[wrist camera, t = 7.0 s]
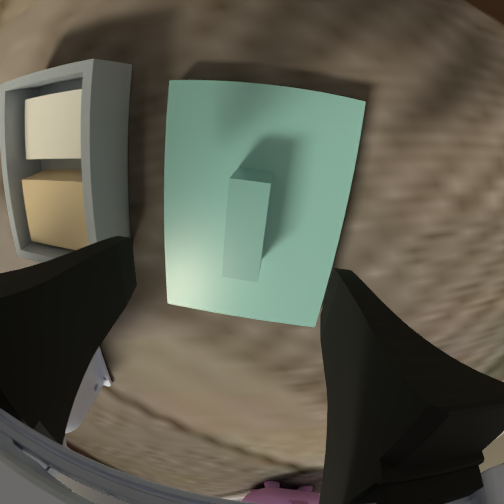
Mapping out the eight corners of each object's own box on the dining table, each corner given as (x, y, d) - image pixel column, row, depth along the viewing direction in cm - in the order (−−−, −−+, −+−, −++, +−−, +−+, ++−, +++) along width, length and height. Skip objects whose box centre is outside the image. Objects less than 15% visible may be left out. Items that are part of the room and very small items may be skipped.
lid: (313, 313, 20) (316, 353, 17) (174, 291, 21) (154, 326, 17) (359, 102, 14) (379, 100, 10) (178, 81, 14) (149, 76, 11)
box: (131, 247, 19) (102, 277, 16) (49, 233, 20) (17, 256, 16) (132, 64, 14) (93, 58, 10) (40, 80, 14) (0, 83, 11)
